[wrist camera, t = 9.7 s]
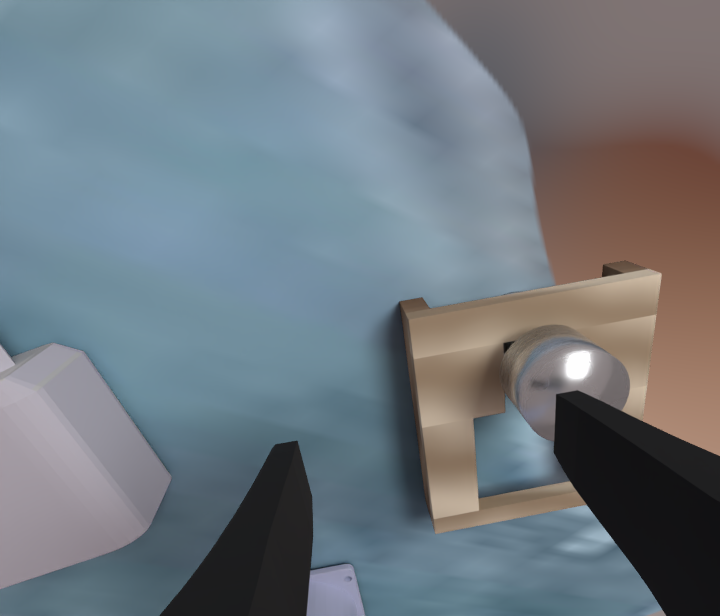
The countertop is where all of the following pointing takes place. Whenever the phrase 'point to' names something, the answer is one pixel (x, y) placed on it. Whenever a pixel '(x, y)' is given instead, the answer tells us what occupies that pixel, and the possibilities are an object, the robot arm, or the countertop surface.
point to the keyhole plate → (483, 388)
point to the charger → (68, 465)
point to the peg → (558, 373)
